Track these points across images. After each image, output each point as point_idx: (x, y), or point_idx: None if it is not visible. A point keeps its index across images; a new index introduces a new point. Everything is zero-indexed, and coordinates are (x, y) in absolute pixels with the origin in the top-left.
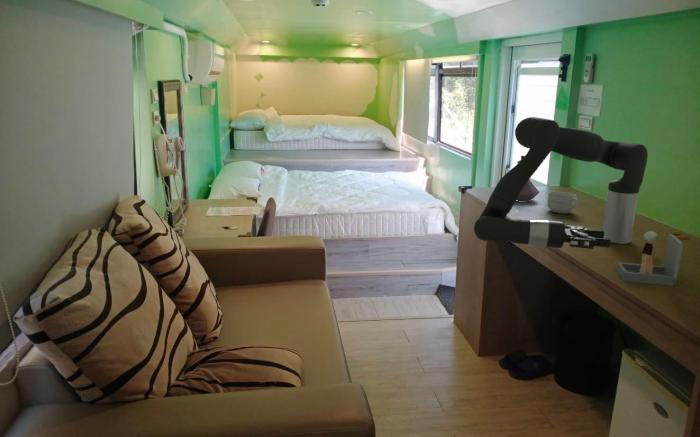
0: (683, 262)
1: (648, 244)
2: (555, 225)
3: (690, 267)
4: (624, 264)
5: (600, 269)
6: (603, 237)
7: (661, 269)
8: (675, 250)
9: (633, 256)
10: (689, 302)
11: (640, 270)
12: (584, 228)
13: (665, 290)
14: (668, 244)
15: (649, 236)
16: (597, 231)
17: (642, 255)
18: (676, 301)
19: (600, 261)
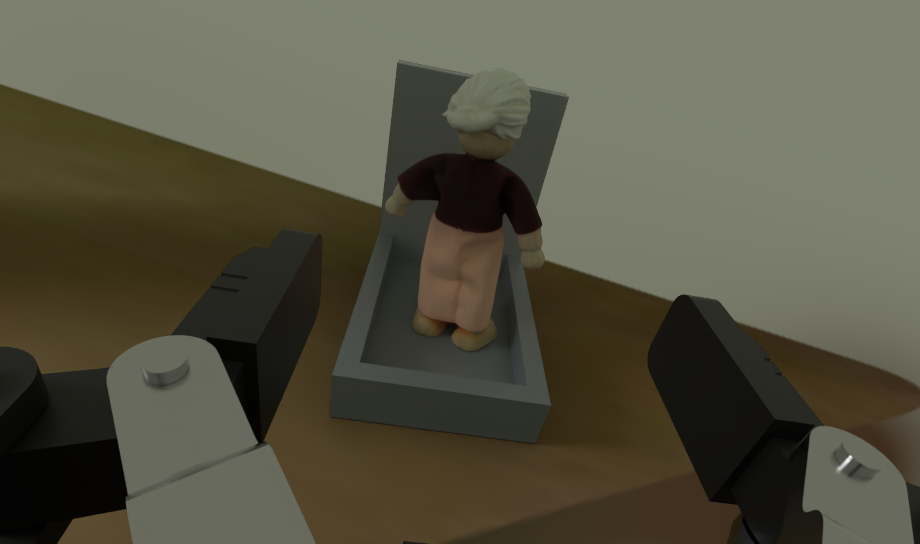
0: (222, 173)
1: (499, 164)
2: None
3: (282, 181)
4: (363, 351)
5: (320, 519)
6: (318, 299)
7: (391, 249)
8: (522, 140)
9: (81, 259)
10: (667, 306)
11: (478, 321)
12: (122, 417)
13: (580, 323)
14: (413, 122)
15: (527, 109)
16: (294, 285)
17: (465, 243)
18: None
19: None
